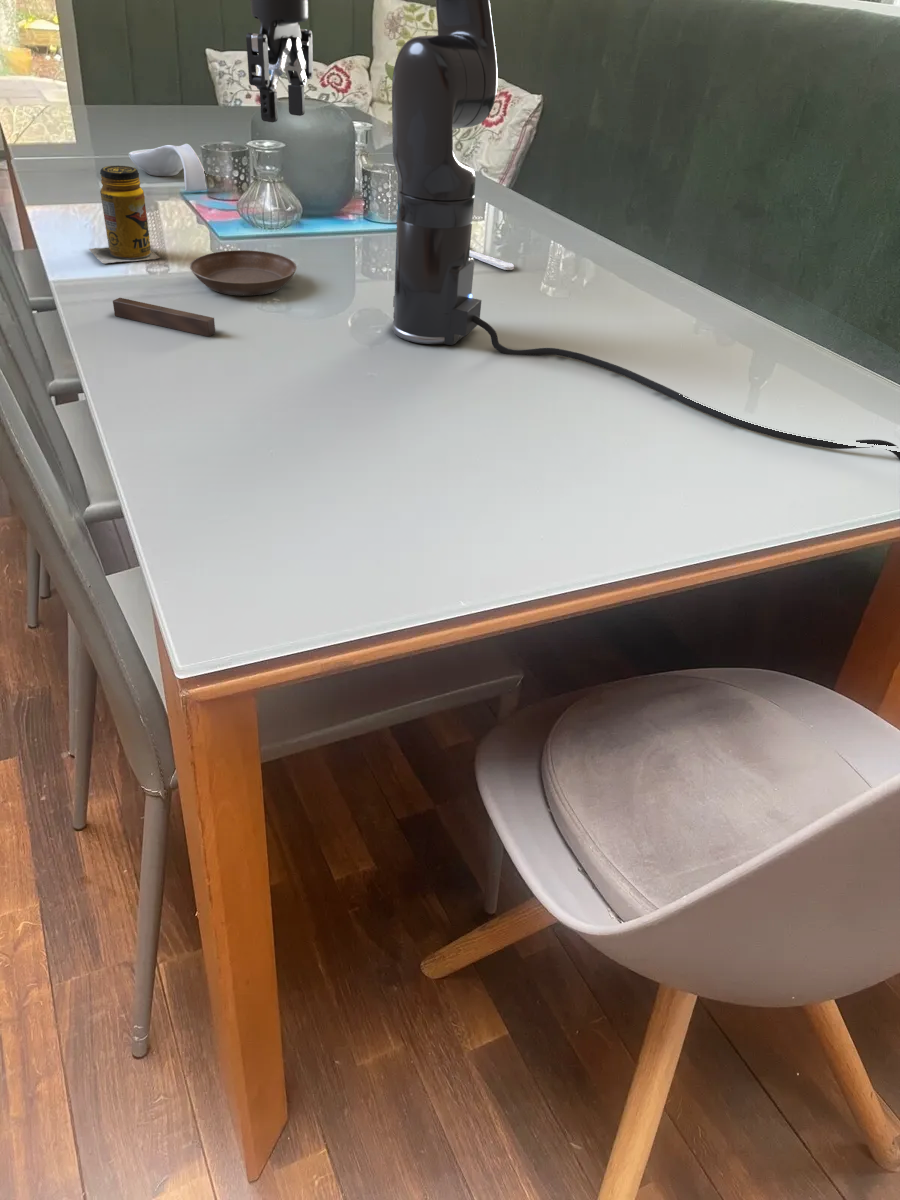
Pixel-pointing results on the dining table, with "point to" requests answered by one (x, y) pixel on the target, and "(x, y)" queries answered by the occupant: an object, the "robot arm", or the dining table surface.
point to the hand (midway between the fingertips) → (283, 117)
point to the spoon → (492, 260)
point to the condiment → (124, 217)
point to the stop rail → (164, 317)
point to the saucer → (243, 272)
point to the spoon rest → (172, 164)
